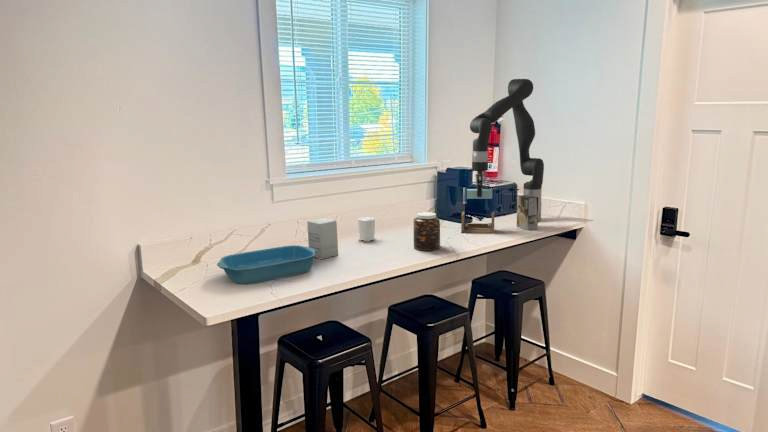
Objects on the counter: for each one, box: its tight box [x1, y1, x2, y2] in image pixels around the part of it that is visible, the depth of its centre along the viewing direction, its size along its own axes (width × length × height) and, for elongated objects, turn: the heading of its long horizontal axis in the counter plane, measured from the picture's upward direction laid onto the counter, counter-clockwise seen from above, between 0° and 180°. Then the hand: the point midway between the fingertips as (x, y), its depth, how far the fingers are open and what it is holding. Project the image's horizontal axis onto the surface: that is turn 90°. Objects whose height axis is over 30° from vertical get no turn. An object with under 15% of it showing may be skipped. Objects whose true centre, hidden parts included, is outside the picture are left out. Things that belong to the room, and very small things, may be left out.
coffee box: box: [516, 195, 539, 231], centre depth 259 cm, size 9×6×16 cm
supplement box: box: [306, 217, 339, 260], centre depth 216 cm, size 9×9×15 cm
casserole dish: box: [216, 245, 316, 285], centre depth 194 cm, size 37×22×7 cm, turn 122°
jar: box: [413, 211, 441, 252], centre depth 225 cm, size 12×12×15 cm
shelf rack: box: [460, 211, 495, 235], centre depth 255 cm, size 9×16×9 cm, turn 79°
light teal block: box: [466, 188, 493, 200], centre depth 251 cm, size 5×12×4 cm, turn 81°
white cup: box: [357, 216, 376, 242], centre depth 243 cm, size 8×8×10 cm
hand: (479, 195), depth 251 cm, fingers closed on light teal block, 5 cm apart
